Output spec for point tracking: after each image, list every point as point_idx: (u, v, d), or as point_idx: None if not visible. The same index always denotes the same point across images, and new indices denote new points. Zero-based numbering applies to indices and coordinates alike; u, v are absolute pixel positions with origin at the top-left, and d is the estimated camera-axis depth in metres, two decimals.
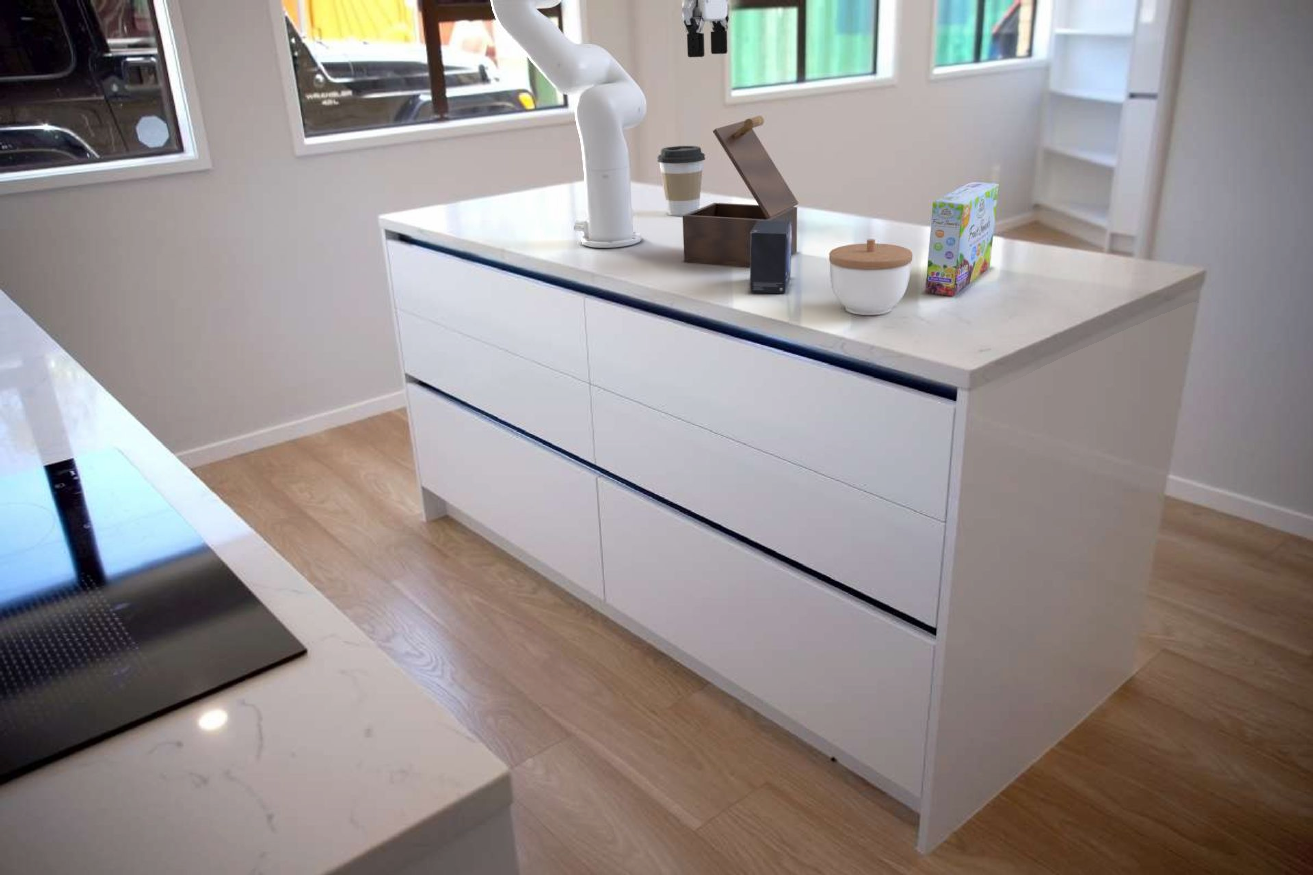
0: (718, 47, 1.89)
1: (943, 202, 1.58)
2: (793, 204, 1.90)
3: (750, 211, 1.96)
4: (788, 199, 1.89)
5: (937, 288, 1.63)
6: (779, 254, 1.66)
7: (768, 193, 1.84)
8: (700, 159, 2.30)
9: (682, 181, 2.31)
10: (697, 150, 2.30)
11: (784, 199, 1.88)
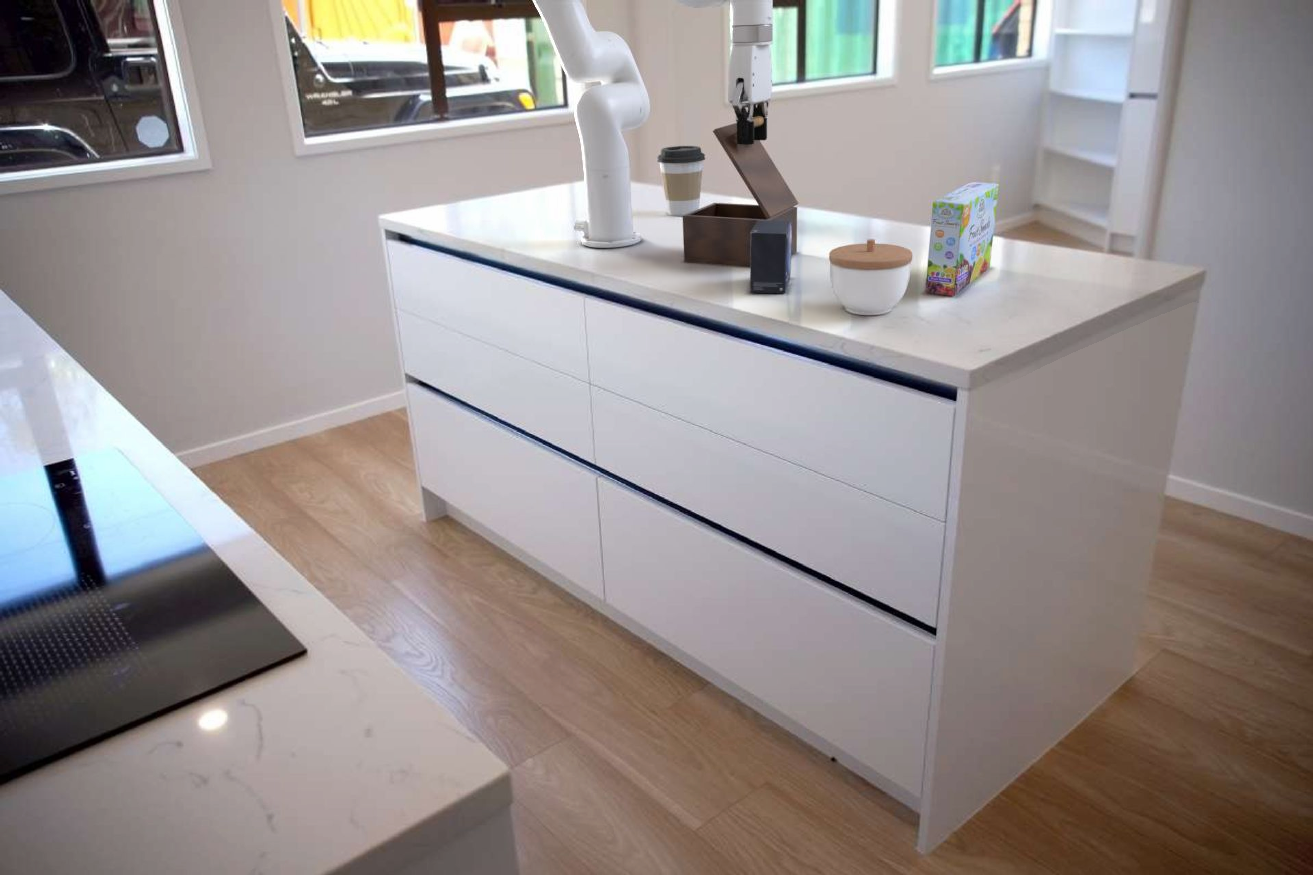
0: (757, 134, 1.86)
1: (943, 202, 1.58)
2: (793, 204, 1.90)
3: (750, 211, 1.96)
4: (788, 199, 1.89)
5: (937, 288, 1.63)
6: (779, 254, 1.66)
7: (768, 193, 1.84)
8: (700, 159, 2.30)
9: (682, 181, 2.31)
10: (697, 150, 2.30)
11: (784, 199, 1.88)
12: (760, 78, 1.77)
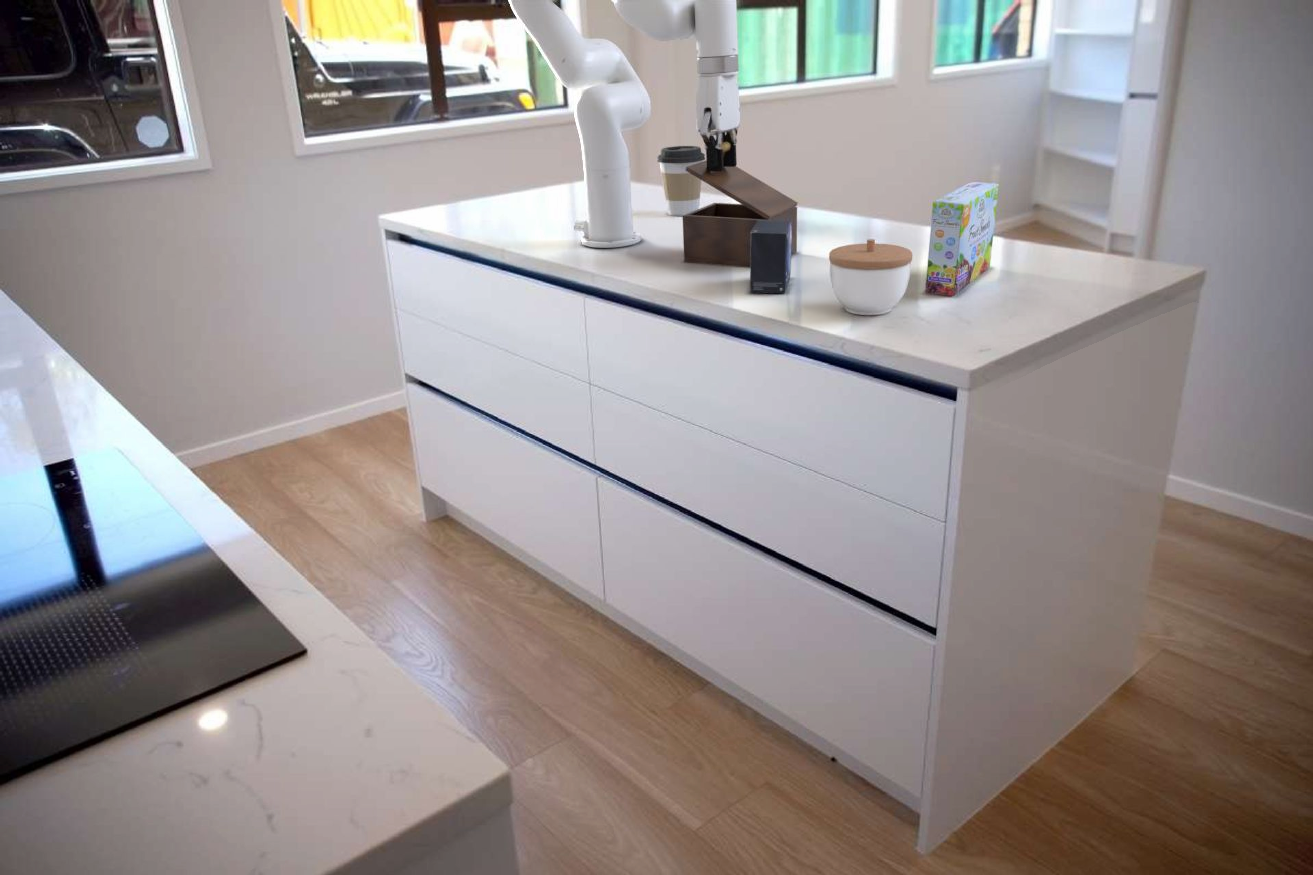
0: (727, 160, 1.91)
1: (943, 202, 1.58)
2: (792, 204, 1.90)
3: (750, 211, 1.96)
4: (785, 201, 1.89)
5: (937, 288, 1.63)
6: (779, 254, 1.66)
7: (761, 201, 1.85)
8: (700, 159, 2.30)
9: (682, 181, 2.31)
10: (697, 150, 2.30)
11: (781, 202, 1.88)
12: (727, 107, 1.82)
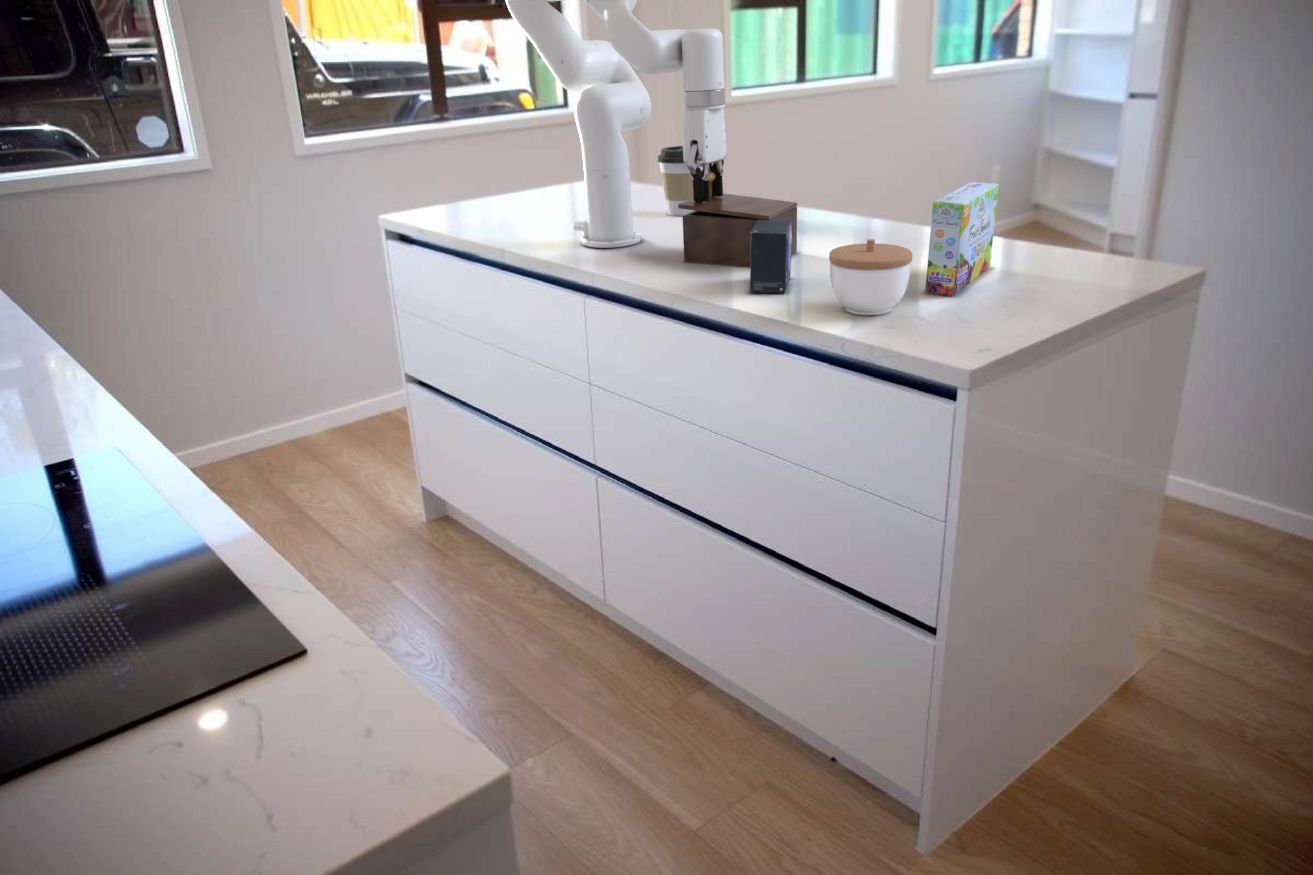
0: (714, 190, 1.94)
1: (943, 202, 1.58)
2: (791, 204, 1.90)
3: None
4: (783, 204, 1.90)
5: (937, 288, 1.63)
6: (779, 254, 1.66)
7: (758, 209, 1.86)
8: None
9: (682, 181, 2.31)
10: None
11: (779, 205, 1.89)
12: (713, 139, 1.86)
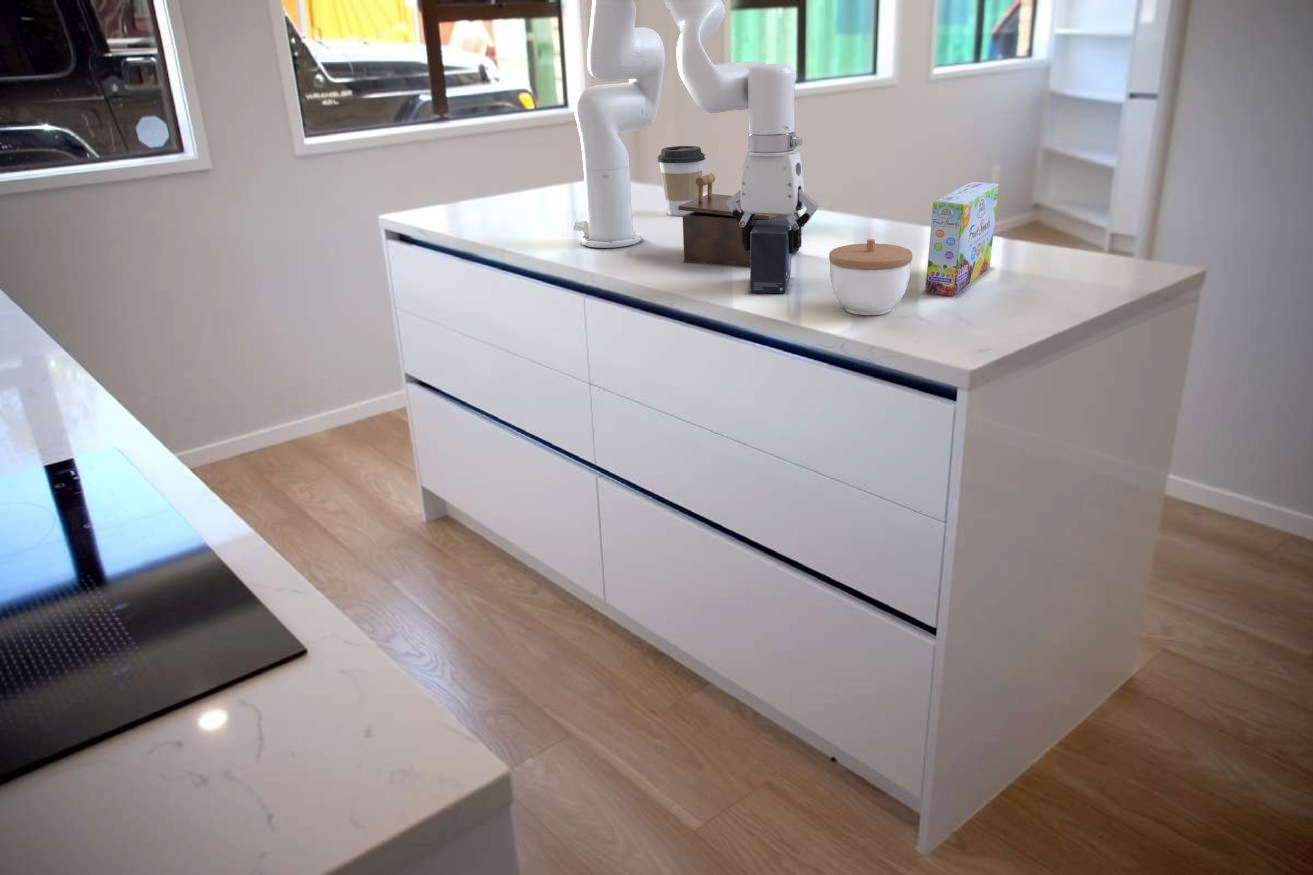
0: None
1: (943, 202, 1.58)
2: None
3: None
4: None
5: (937, 288, 1.63)
6: (779, 254, 1.66)
7: None
8: (700, 159, 2.30)
9: (682, 181, 2.31)
10: (697, 150, 2.30)
11: None
12: (757, 189, 1.65)
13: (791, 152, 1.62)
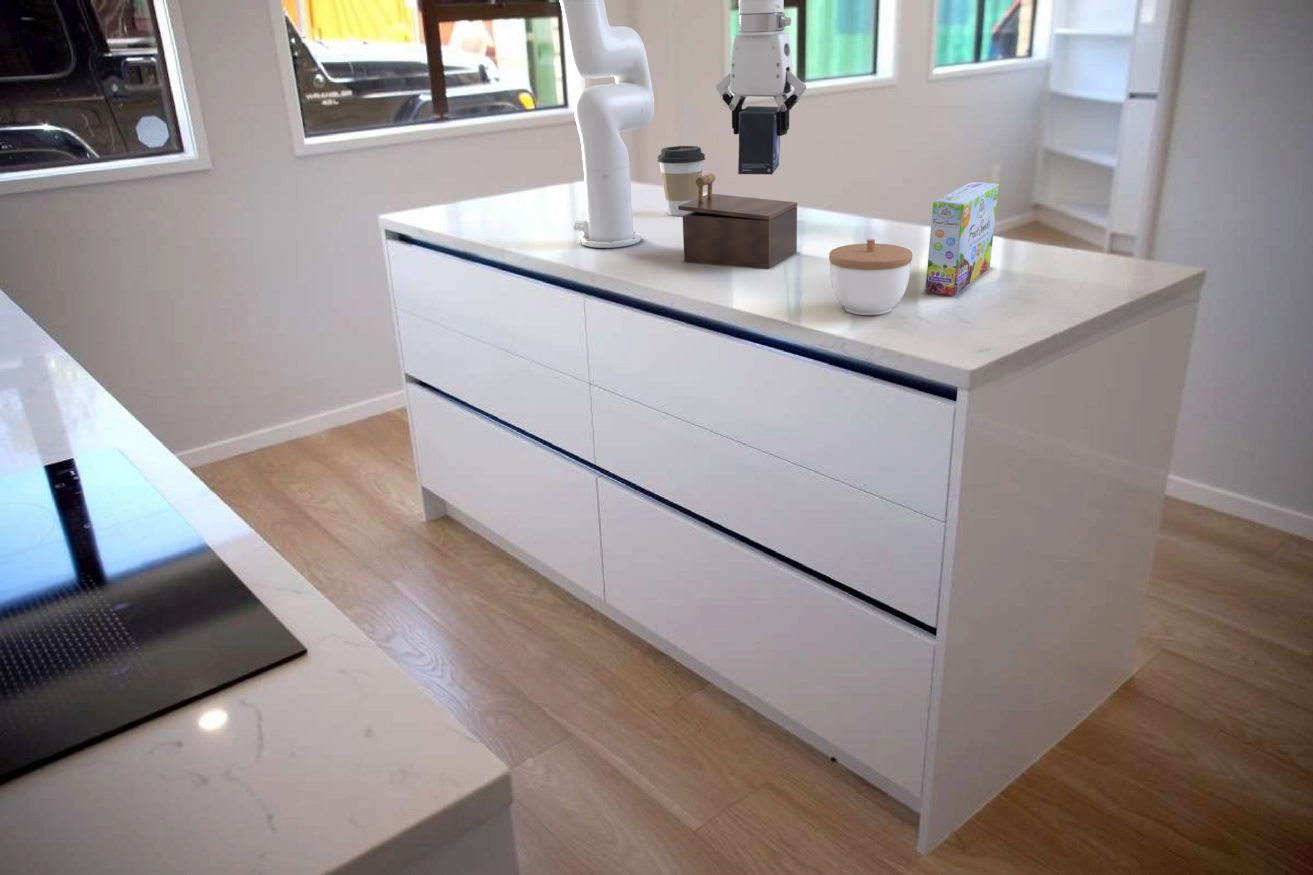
0: None
1: (943, 202, 1.58)
2: (791, 204, 1.90)
3: None
4: (783, 204, 1.90)
5: (937, 288, 1.63)
6: (767, 134, 1.69)
7: (758, 209, 1.86)
8: (700, 159, 2.30)
9: (682, 181, 2.31)
10: (697, 150, 2.30)
11: (779, 206, 1.89)
12: (746, 70, 1.69)
13: (780, 32, 1.66)
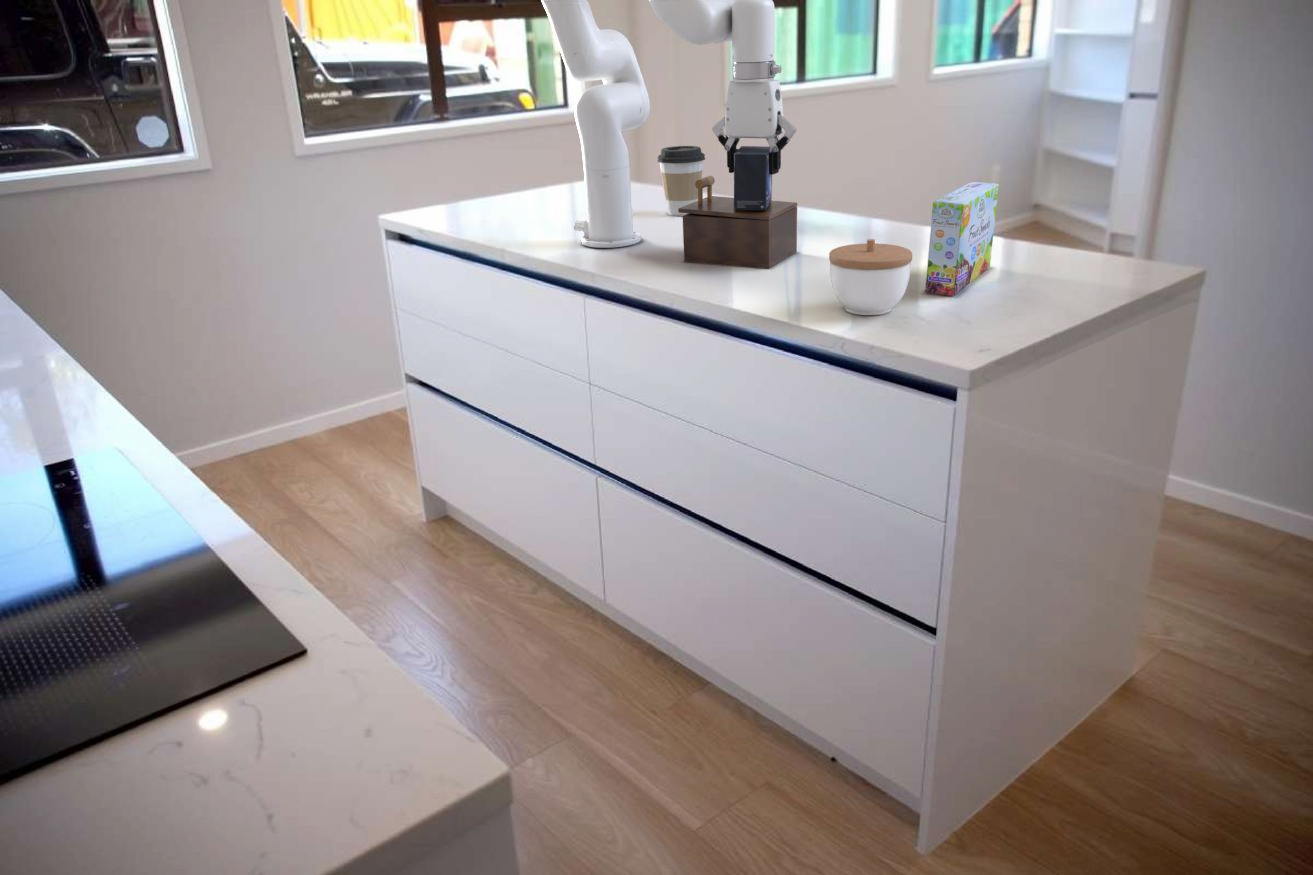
0: None
1: (943, 202, 1.58)
2: (791, 204, 1.90)
3: None
4: (783, 204, 1.90)
5: (937, 288, 1.63)
6: (760, 173, 1.81)
7: None
8: (700, 159, 2.30)
9: (682, 181, 2.31)
10: (697, 150, 2.30)
11: (779, 206, 1.89)
12: (740, 114, 1.81)
13: (771, 79, 1.78)
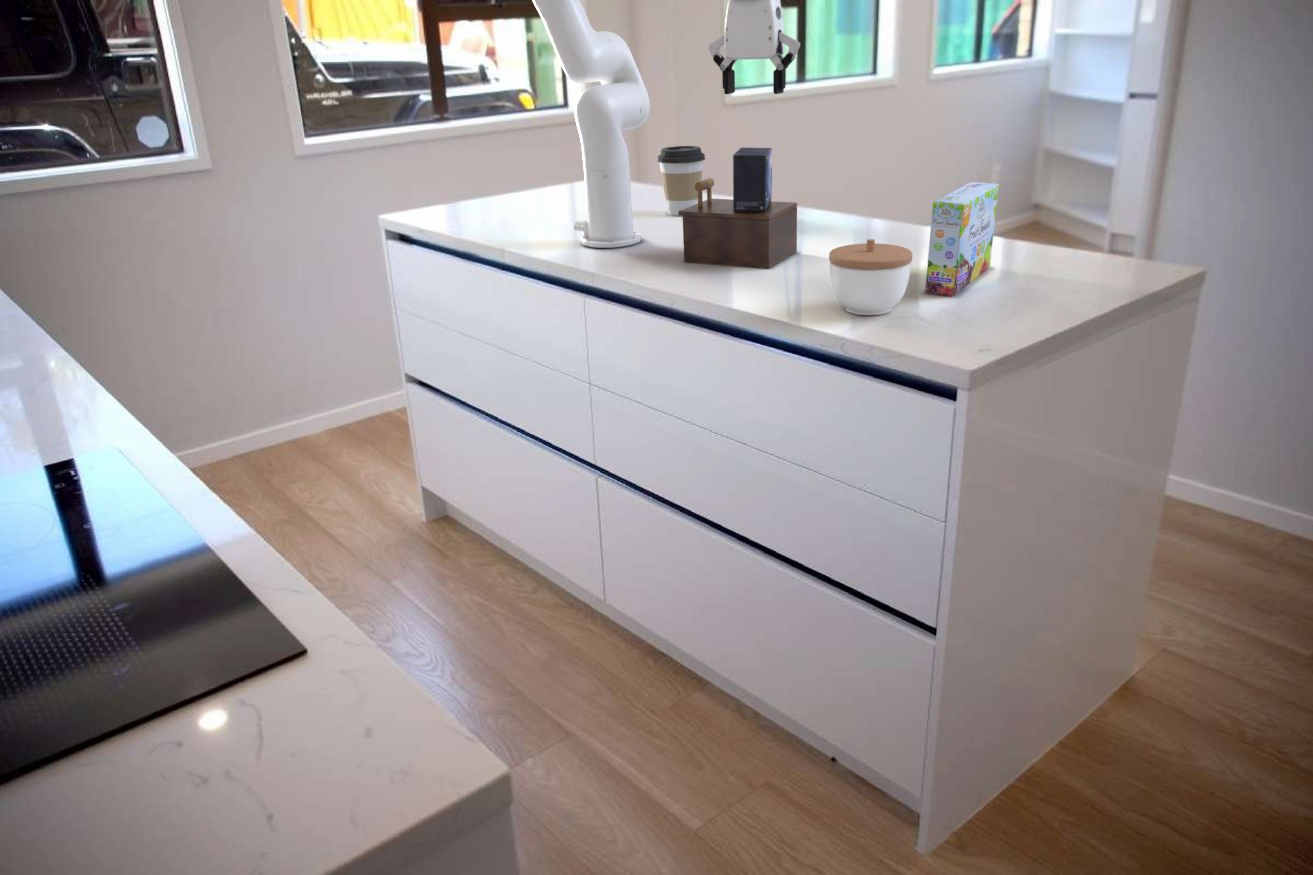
0: None
1: (943, 202, 1.58)
2: (791, 204, 1.90)
3: None
4: (783, 205, 1.90)
5: (937, 288, 1.63)
6: (759, 174, 1.81)
7: None
8: (700, 159, 2.30)
9: (682, 181, 2.31)
10: (697, 150, 2.30)
11: (779, 206, 1.89)
12: (739, 34, 1.75)
13: None
